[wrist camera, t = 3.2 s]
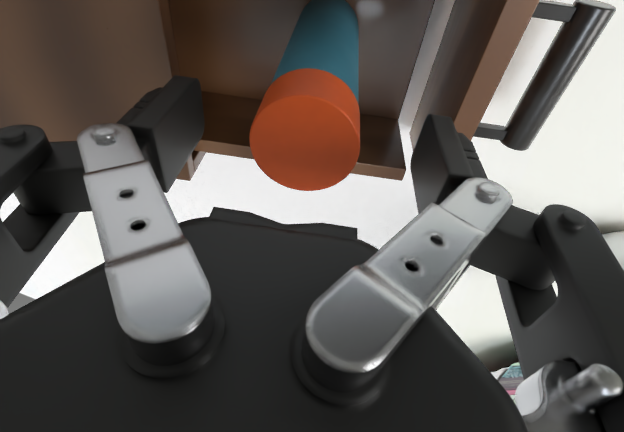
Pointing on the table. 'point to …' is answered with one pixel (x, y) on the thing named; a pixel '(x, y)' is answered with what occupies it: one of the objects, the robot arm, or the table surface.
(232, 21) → the drawer
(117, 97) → the cabinet
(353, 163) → the glue stick
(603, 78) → the table surface
